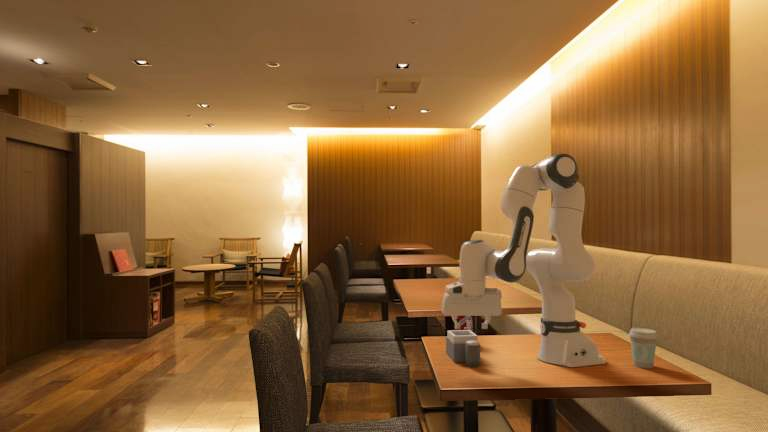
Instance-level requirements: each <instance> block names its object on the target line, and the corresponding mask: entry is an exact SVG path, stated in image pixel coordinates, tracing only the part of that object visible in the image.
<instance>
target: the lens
mask: <svg viewBox="0 0 768 432" xmlns="http://www.w3.org/2000/svg"><path fill="white" fill-rule="evenodd" d="M464 363H465V366H466V367H469V368H480V367H481V344H480V341H478V340H477V341H474V340H469V341H466V344H465V362H464ZM479 366H480V367H479Z"/></svg>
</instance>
